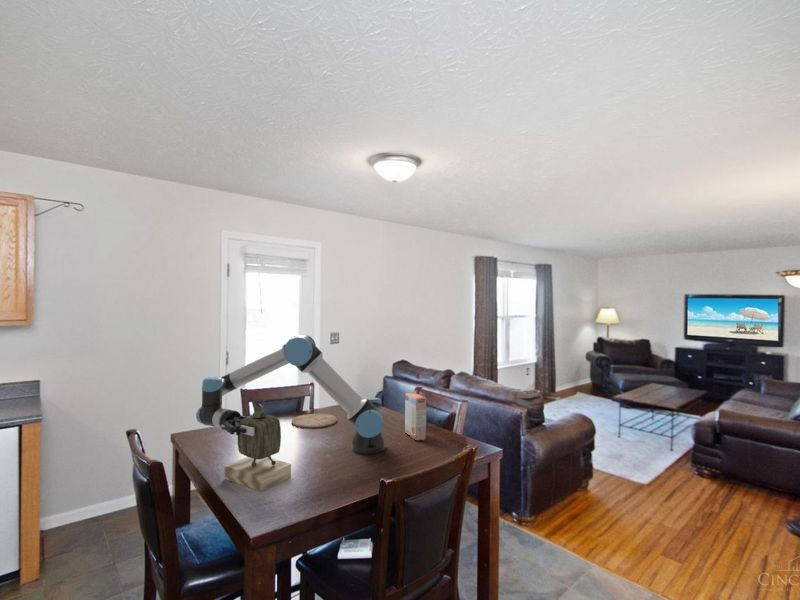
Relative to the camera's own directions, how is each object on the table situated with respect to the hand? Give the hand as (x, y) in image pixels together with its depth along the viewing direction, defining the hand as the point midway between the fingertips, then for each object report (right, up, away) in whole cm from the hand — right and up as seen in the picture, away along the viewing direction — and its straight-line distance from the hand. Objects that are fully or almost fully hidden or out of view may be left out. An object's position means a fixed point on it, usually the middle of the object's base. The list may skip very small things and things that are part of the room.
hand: (266, 427), depth 149 cm
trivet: (+2, -22, +76) cm, 79 cm away
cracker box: (+58, -21, +52) cm, 81 cm away
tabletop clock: (-4, -15, +2) cm, 15 cm away
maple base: (-4, -20, +1) cm, 20 cm away
